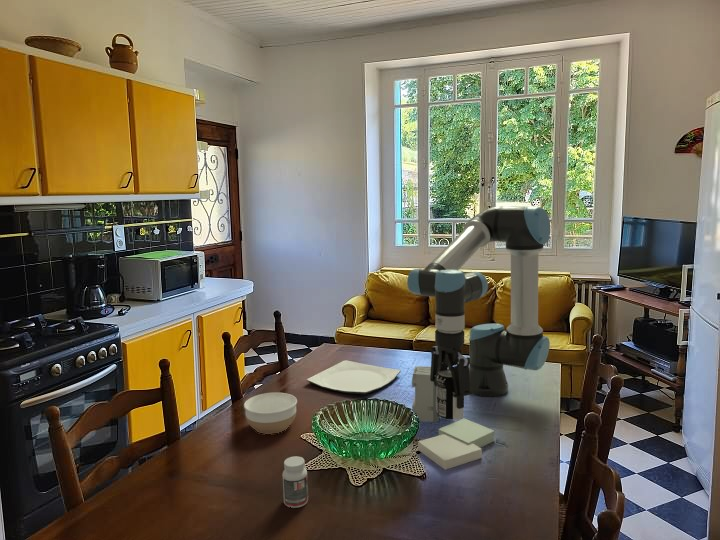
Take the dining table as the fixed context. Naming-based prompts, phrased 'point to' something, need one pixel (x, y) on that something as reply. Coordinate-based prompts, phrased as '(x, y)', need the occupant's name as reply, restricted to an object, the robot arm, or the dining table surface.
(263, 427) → the bowl
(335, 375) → the plate
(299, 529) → the dining table surface
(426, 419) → the circuit breaker
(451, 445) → the stand
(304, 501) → the pill bottle
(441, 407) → the beverage can
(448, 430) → the stand
